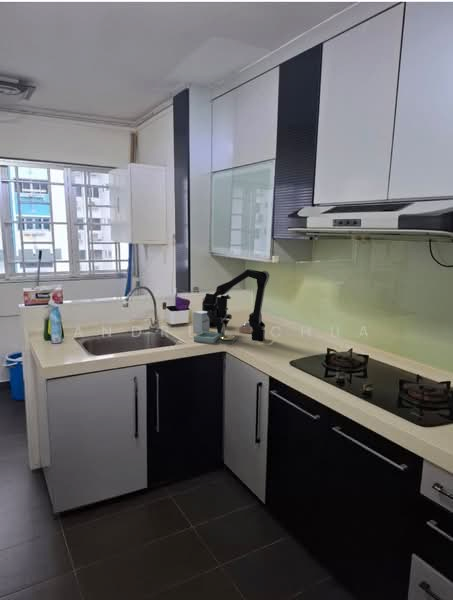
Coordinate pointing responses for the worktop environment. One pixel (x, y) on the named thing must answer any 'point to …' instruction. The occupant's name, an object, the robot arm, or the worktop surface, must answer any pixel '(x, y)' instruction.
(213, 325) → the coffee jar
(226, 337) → the brass disc
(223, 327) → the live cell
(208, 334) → the teal shallow square tray
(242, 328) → the pink open-ended box
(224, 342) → the checker cradle
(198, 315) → the supplement box
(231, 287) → the robot arm
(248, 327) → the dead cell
